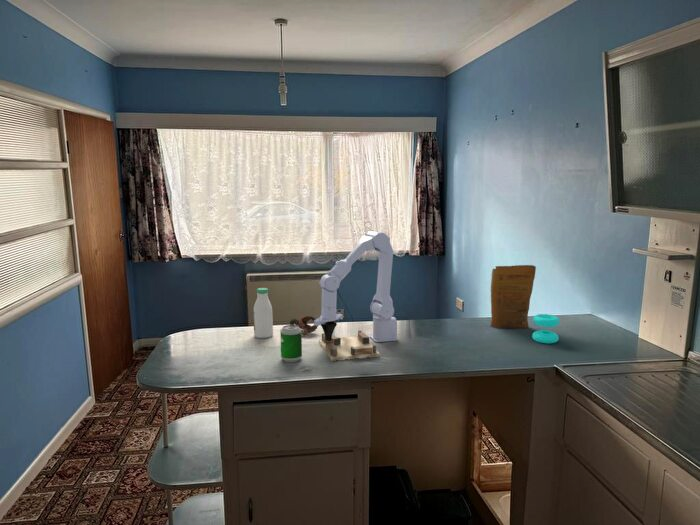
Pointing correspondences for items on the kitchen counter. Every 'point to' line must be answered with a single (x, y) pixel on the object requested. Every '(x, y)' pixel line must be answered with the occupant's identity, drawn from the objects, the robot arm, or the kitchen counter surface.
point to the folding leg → (333, 340)
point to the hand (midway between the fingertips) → (328, 340)
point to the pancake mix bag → (511, 295)
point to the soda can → (291, 343)
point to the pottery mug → (304, 324)
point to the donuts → (545, 335)
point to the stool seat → (350, 348)
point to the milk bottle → (263, 315)
